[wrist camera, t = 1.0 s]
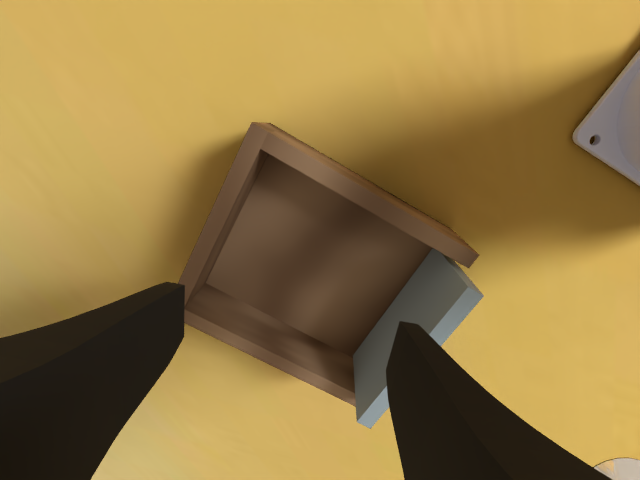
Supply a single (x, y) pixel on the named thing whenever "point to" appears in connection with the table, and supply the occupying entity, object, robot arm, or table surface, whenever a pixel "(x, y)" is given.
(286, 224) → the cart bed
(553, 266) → the table surface
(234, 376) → the table surface
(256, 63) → the table surface
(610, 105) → the robot arm
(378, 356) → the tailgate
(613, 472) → the wineglass
